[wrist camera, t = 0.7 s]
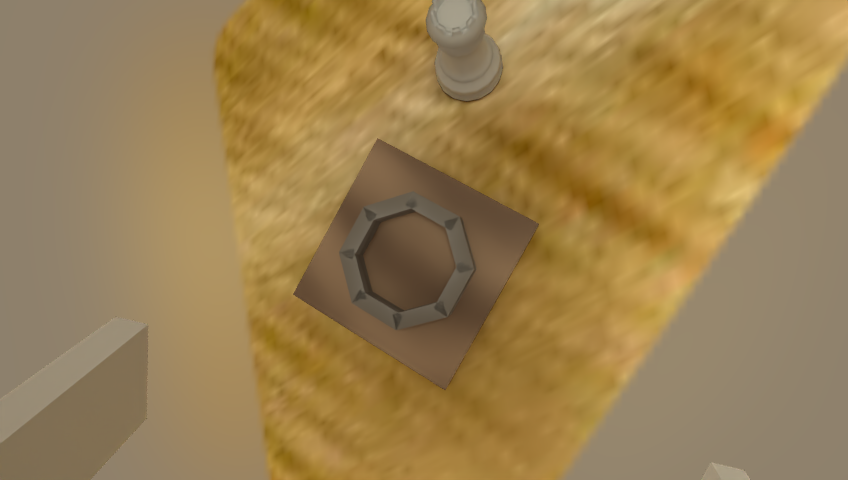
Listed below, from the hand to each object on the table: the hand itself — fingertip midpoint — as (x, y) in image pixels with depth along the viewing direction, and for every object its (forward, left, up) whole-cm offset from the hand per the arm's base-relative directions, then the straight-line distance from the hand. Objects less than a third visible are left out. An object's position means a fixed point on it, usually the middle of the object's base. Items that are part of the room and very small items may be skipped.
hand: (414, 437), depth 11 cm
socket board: (-2, -6, -21) cm, 22 cm away
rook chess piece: (-15, -9, -21) cm, 27 cm away
